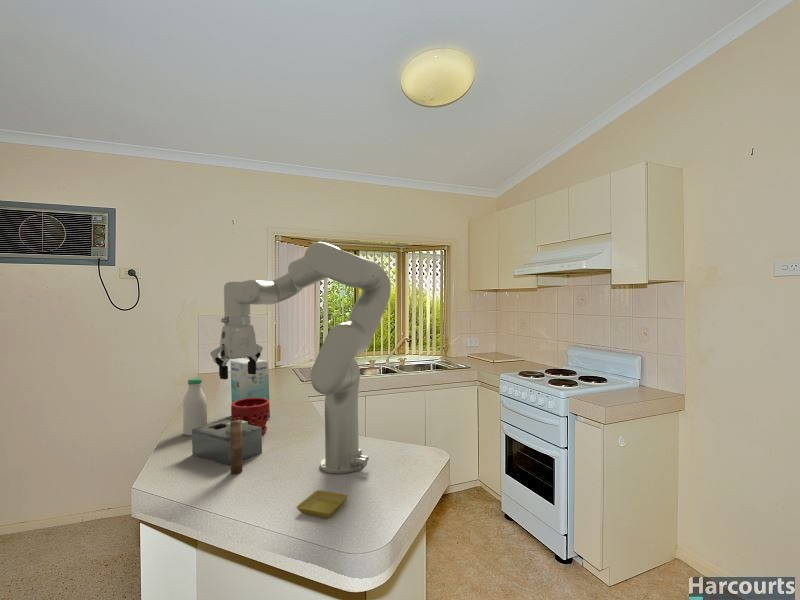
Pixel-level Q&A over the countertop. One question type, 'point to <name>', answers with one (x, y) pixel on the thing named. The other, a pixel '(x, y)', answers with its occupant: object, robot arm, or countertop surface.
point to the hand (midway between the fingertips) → (238, 376)
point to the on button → (244, 426)
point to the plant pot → (251, 411)
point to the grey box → (224, 442)
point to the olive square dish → (322, 503)
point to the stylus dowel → (236, 446)
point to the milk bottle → (194, 407)
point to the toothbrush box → (249, 380)
